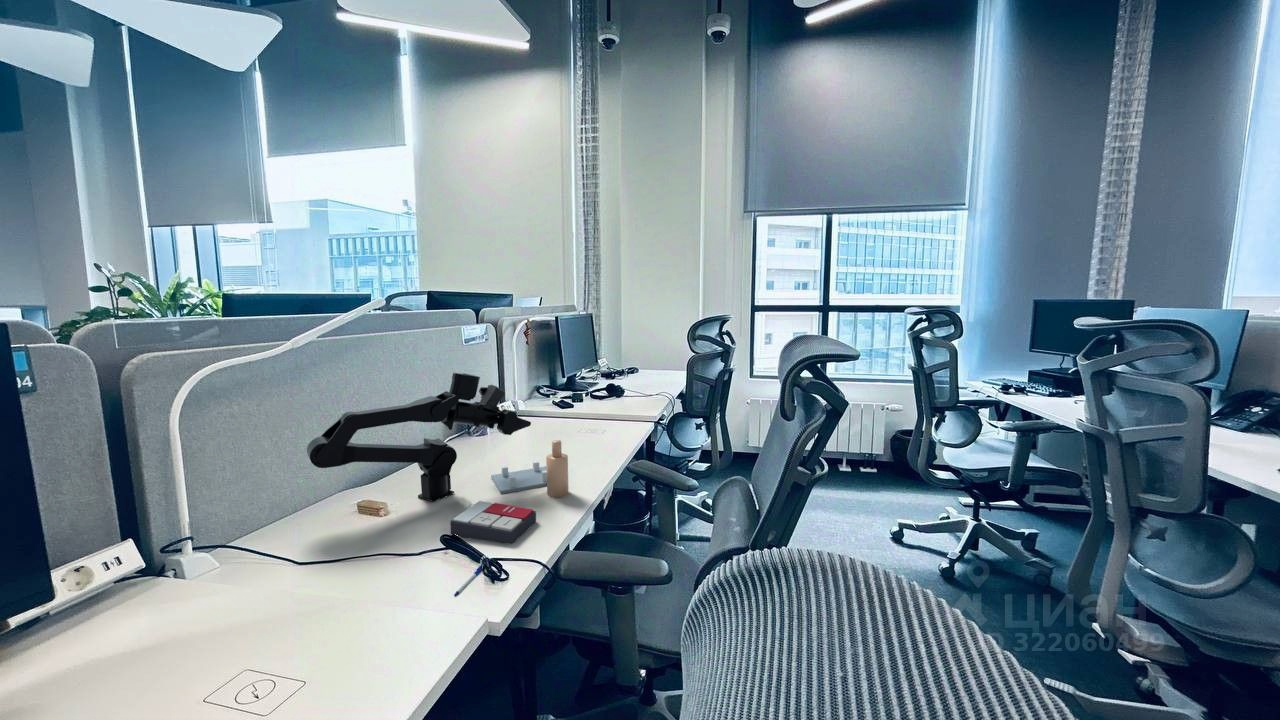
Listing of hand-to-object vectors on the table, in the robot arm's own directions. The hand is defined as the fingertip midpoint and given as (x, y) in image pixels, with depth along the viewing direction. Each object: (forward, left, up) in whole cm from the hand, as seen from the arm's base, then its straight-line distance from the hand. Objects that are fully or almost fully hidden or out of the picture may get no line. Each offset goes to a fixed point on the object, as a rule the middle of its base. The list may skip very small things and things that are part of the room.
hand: (523, 420), depth 142 cm
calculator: (-29, -18, -16) cm, 38 cm away
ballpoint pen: (-46, -29, -16) cm, 57 cm away
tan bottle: (-7, -18, -16) cm, 25 cm away
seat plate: (-4, -4, -16) cm, 17 cm away
